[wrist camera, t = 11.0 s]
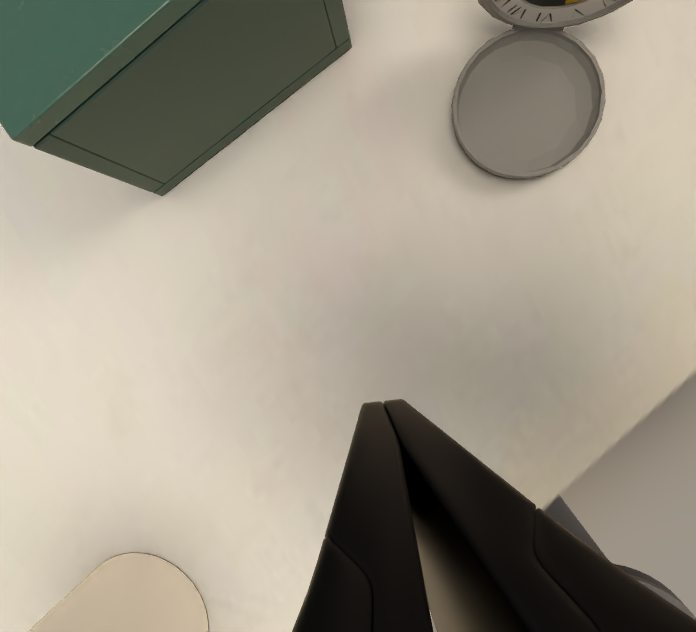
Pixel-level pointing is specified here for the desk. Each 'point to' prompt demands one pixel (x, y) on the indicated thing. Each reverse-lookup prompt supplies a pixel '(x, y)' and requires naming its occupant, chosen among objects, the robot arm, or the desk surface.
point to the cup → (130, 600)
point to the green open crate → (199, 88)
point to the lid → (69, 54)
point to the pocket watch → (531, 89)
